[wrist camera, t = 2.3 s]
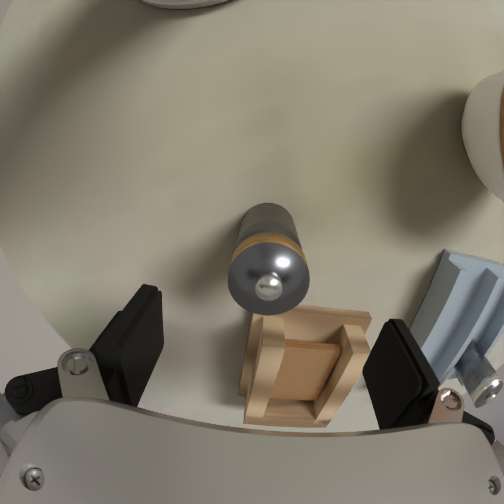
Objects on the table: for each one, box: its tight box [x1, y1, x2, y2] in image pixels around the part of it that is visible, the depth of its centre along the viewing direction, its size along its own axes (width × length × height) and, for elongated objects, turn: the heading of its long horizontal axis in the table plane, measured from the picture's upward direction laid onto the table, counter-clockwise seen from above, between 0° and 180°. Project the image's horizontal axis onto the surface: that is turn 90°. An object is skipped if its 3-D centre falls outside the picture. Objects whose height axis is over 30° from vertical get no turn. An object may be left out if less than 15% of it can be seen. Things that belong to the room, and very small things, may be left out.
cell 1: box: [228, 203, 310, 316], centre depth 16 cm, size 4×4×8 cm
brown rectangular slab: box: [270, 340, 341, 400], centre depth 22 cm, size 7×5×1 cm, turn 172°
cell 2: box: [454, 339, 503, 408], centre depth 19 cm, size 4×4×8 cm
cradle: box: [238, 305, 372, 427], centre depth 23 cm, size 12×10×4 cm
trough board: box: [409, 249, 504, 386], centre depth 21 cm, size 16×13×3 cm
